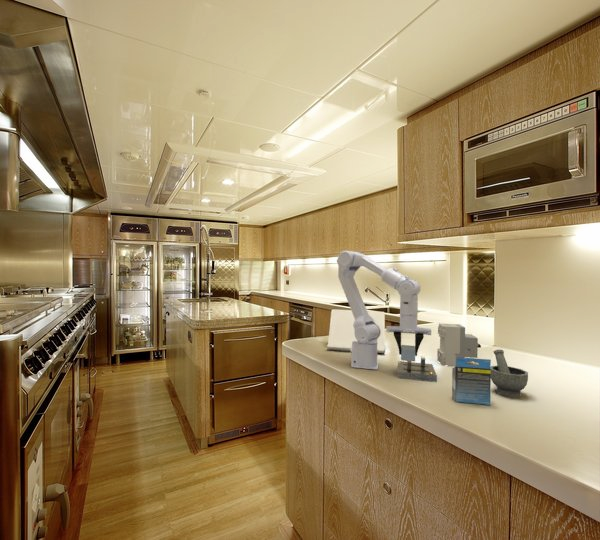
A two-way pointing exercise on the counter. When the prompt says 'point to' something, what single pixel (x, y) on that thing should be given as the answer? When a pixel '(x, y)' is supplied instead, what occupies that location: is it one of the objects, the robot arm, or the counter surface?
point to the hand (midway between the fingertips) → (407, 354)
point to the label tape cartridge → (471, 381)
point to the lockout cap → (407, 353)
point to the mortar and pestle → (507, 377)
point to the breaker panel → (417, 371)
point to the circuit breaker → (455, 344)
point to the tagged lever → (408, 365)
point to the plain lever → (422, 360)
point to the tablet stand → (351, 330)
